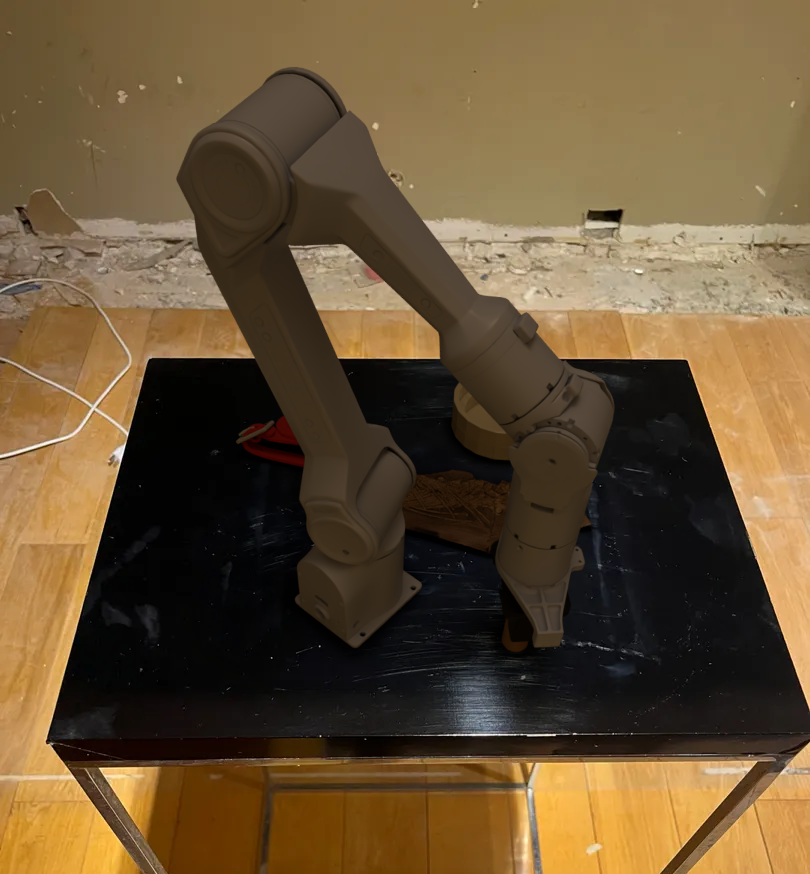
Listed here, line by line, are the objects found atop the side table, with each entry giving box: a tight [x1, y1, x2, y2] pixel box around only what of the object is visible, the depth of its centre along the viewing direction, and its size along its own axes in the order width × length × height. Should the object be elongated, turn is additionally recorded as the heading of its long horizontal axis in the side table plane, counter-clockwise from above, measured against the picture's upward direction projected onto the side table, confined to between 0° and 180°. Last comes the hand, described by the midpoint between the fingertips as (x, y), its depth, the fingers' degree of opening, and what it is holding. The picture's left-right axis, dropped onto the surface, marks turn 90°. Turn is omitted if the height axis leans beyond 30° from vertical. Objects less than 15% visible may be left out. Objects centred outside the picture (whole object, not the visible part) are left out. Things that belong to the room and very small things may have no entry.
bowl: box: [450, 381, 514, 461], centre depth 92 cm, size 11×11×4 cm
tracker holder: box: [235, 415, 305, 468], centre depth 89 cm, size 12×4×10 cm
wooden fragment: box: [402, 469, 594, 555], centre depth 84 cm, size 26×11×1 cm, turn 84°
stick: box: [501, 618, 529, 653], centre depth 72 cm, size 2×2×9 cm
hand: (519, 622), depth 73 cm, fingers open, 3 cm apart
